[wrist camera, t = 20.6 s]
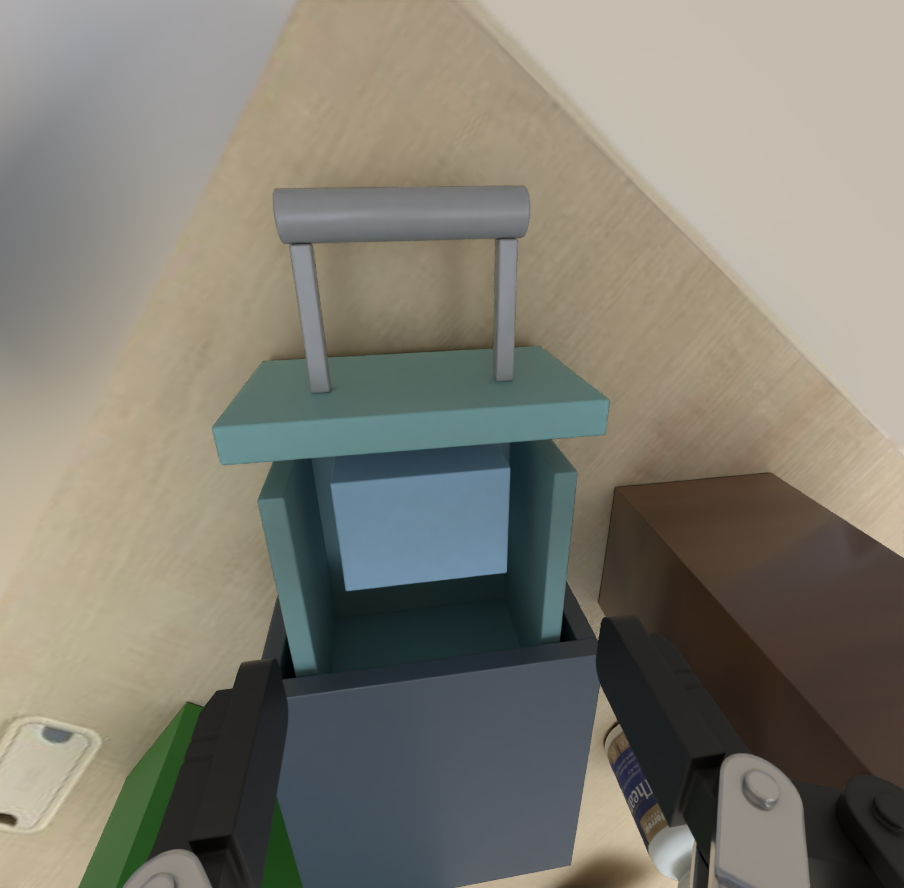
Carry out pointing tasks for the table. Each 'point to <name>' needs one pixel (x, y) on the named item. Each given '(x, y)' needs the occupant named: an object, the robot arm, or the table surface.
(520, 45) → the table surface
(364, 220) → the drawer
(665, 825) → the pill bottle
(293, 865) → the hardback book
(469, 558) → the blue rectangular block
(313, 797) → the cabinet
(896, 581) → the wooden stand
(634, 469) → the table surface
